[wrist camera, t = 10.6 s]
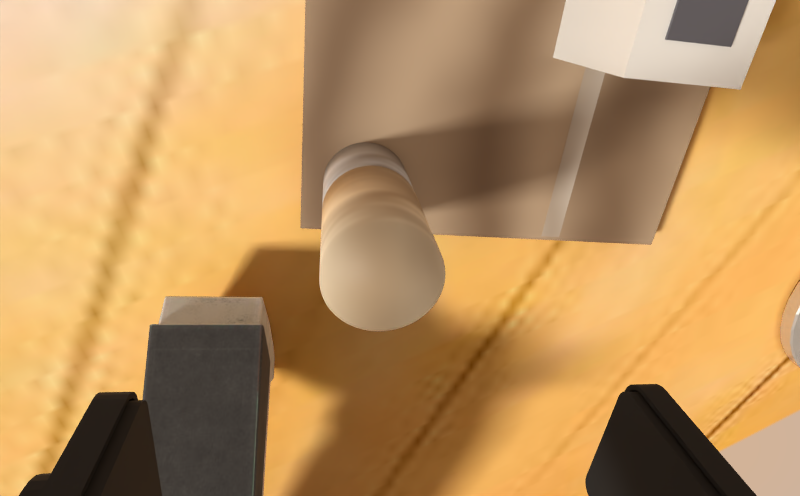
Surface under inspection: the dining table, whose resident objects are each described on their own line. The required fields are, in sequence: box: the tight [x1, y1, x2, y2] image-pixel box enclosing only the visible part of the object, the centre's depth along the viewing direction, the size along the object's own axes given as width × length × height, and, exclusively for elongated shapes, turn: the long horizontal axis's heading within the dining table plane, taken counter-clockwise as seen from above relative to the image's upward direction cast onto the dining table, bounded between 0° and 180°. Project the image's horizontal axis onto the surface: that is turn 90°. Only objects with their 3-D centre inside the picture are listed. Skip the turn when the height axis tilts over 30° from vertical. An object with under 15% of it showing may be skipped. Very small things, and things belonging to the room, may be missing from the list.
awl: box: [319, 142, 445, 331], centre depth 20 cm, size 4×4×9 cm
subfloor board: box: [301, 0, 710, 245], centre depth 22 cm, size 19×17×1 cm
